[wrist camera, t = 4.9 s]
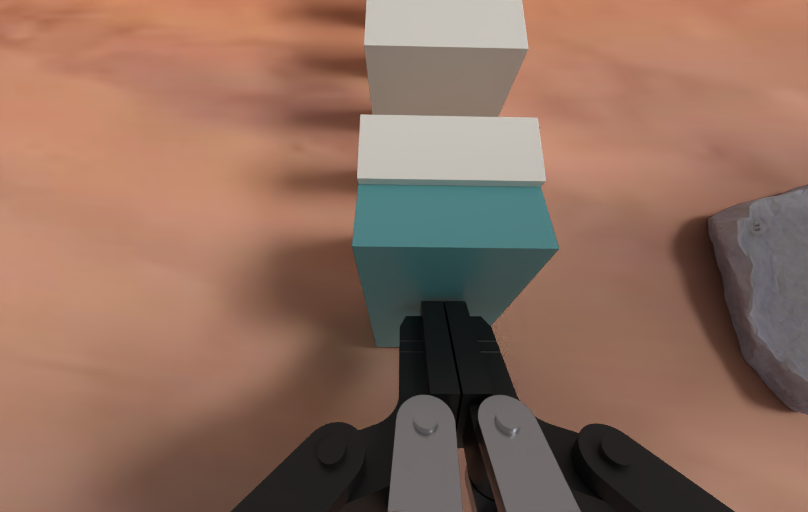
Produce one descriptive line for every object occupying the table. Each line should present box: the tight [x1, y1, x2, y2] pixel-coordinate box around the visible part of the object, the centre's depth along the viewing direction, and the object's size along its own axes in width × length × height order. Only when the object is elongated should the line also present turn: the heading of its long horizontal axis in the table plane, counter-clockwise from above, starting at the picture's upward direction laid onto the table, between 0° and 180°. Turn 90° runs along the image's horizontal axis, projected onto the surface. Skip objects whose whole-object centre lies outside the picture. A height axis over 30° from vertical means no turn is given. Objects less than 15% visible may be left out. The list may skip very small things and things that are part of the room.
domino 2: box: [357, 114, 546, 187], centre depth 13 cm, size 2×5×10 cm, turn 90°
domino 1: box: [364, 0, 528, 117], centre depth 14 cm, size 2×5×10 cm, turn 89°
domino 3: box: [352, 184, 559, 347], centre depth 12 cm, size 2×5×10 cm, turn 90°
